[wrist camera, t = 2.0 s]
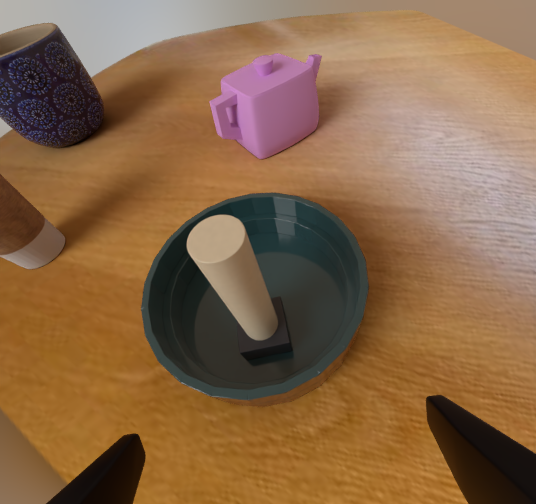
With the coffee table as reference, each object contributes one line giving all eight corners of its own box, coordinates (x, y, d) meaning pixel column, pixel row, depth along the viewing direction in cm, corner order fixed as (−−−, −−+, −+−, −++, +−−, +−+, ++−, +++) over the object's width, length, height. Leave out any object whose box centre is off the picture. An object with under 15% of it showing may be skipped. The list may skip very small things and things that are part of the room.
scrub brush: (292, 351, 22) (264, 263, 11) (246, 360, 22) (171, 284, 11) (283, 307, 25) (252, 197, 13) (241, 316, 25) (175, 215, 13)
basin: (393, 381, 20) (414, 366, 16) (166, 427, 21) (125, 425, 17) (326, 212, 31) (327, 175, 27) (176, 247, 32) (153, 216, 27)
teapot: (300, 98, 47) (296, 25, 38) (342, 119, 41) (348, 39, 33) (212, 144, 43) (186, 74, 35) (245, 175, 37) (224, 100, 29)
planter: (20, 165, 49) (-78, 77, 37) (52, 119, 59) (-17, 36, 47) (104, 147, 48) (31, 50, 36) (123, 102, 58) (71, 14, 46)
